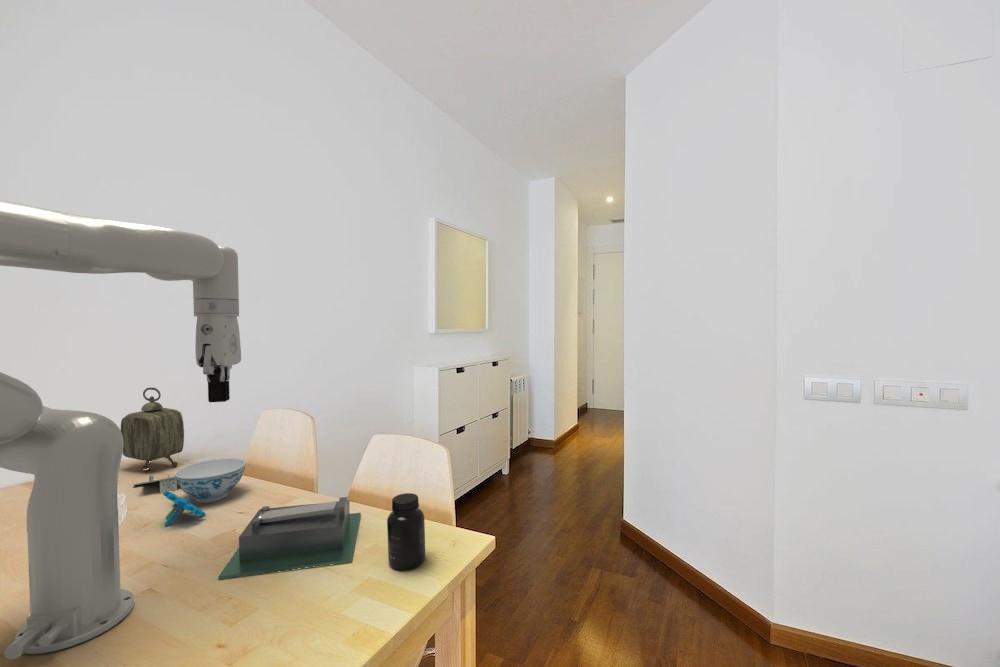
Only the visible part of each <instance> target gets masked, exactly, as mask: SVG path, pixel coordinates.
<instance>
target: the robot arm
mask: <svg viewBox="0 0 1000 667" xmlns="http://www.w3.org/2000/svg"><path fill="white" fill-rule="evenodd" d="M0 266H3V267H15V268H25V269H32V270H33V269H36V270H44V271H54V272H62V273H71V274H73V273H74V274H93V275H94V274H95V275H96V274H97V275H98V274H101V275H102V274H104V275H107V274H121V273H124V274H126V273H127V274H128V273H138V274H140V273H145V274H146V275H148V276H149V277H151V278H154V279H156V280H159V281H167V282H171V281H172V282H173V281H174V282H176V281H191V282H192V294H193V296H192V297H193V298H192V299H193V317H196V326H195V344H194V345H195V363H196V365H197V366H198V367H199V368H203V369H202V374H203V375H206V381H207V399H208V402H209V403H225V402H227V401H230V398H231V397H230V376H231V375H230V373H231V369H232V368H233V366H234V365H237V364H238V365H239V363H241V361H242V350H241V349H242V347H241V337H240V336H241V335H240V334H241V333H240V328H239V321H238V320H239V319H238V317H240V301H239V300H240V293H239V290H240V289H239V257H238V253H237V251H236V250H235V249H233V248H232V247H228V246H223V245H218V244H217V243H215V242H214V241H213V240H212V239H210V238H208V237H206V236H203V235H199V234H196V233H192V232H186V231H182V230H177V229H172V228H168V227H161V226H155V225H148V224H141V223H132V222H126V221H125V222H124V221H119V220H118V221H117V220H113V219H106V218H99V217H91V216H83V215H77V214H73V213H68V212H61V211H57V210H51V209H46V208H43V207H42V208H41V207H36V206H32V205H27V204H23V203H17V202H13V201H8V200H3V199H0ZM123 445H124V443H123V435H122V433H121V428H120V427H119V426H118V425H117V423H116V422H114V420H112V419H110V418H109V417H107V416H105V415H102V414H99V413H95V412H92V411H85V410H84V411H82V410H71V409H55V408H50V407H47V406H44V405H43V401H42V399H41V396H40V395H39V393H38V392H37V391H35V389H34V388H32V387H31V386H30V385H29V384H27V383H25V382H23V381H22V380H20V379H19V378H18V379H17V378H16V377H13V376H11V375H8V374H6V373H3V372H1V371H0V468H1V469H5V470H8V471H13V472H18V473H24V474H30V475H33V476H34V481H33V482H34V483H33V485H32V489H31V492H30V494H29V499H28V503H27V507H26V533H27V554H28V557H27V558H28V559H27V560H28V562H27V563H28V581H29V582H28V583H29V584H28V587H29V614H30V615H29V616H28V617H26V623H24V624H23V625H22V626H20V627H21V628H19V630H17V632H16V634H15V636H14V641H13V642H12V643H10V644H9V645H8V646H7V647H6V648H5V649H4V650H3V655H4V657H5V658H6V659H8V660H15V659H18V658H20V657H21V656H22V655H23V654H27V655H37V654H47V653H52V652H53V653H54V652H57V651H60V650H64V649H67V648H71V647H73V646H74V647H75V646H76V645H79V644H81V643H83V642H86V641H89V640H91V639H93V638H95V637H97V636H99V635H101V634H103V633H105V632H106V631H108V630H110V629H111V628H113V627H114V626H116V625H117V624H118V623H120V622H121V621H122V620H123V619H125V618H126V616H128V614H129V613H131V610H132V609H133V607H134V604H135V596H134V594H133V593H132V592H131V591H129V590H125V589H121V568H120V567H121V566H120V565H121V564H120V563H121V562H120V561H121V560H120V535H119V534H120V532H119V531H120V529H119V509H118V508H119V507H118V501H119V500H118V485H119V484H118V483H119V482H118V481H119V472H120V467H121V461H122V458H123V457H122V456H123Z"/></svg>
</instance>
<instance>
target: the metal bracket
mask: <svg viewBox="0 0 1000 667" xmlns="http://www.w3.org/2000/svg"><path fill="white" fill-rule="evenodd" d="M155 482H159V494H160V493H163V492H165V491H173V492H175V491H174V490H177V491H178V483H177V481H176V478H175V476H171V477H170V475H169V474H167V477H166V478H160V479H155V480H154V474H152V473H151V474H148V481H142V482H138V483H133V486H138V485H143V484H144V485H145V484H149V483H155ZM163 494H164V493H163Z"/></svg>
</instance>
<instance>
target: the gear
mask: <svg viewBox="0 0 1000 667" xmlns="http://www.w3.org/2000/svg"><path fill="white" fill-rule="evenodd" d="M162 495H163V496H164V497H165V498H166V499H168V500H170V501H172V502H173V505H172V508H171V510H170V511H169V512H168V513H167V514H166V515H165V518H166V520H165V522H164V523H163V524H164V525H165V526H167V527H168V526H169V525H171V524H172V522H173V521H174V520H175V519H176V518H177V516H179V514H182V513H183V512H184V511H185V510H186V511H188V512H189V511H190V512H192V513H193V514H194V515H196V516H199V517H201V518H203V517H204V516H205V515H206V513H205V512H204V511H203V510H202V509H201V508H199V507H198V506H196V505H195V504H193V503H191V500H190V499H189V498H185V499H184V498H183V497H181V496H179V495H177V494H175V493H173V492H169V491H165V492H164V493H163V494H162ZM169 527H170V526H169Z"/></svg>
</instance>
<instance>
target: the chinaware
mask: <svg viewBox="0 0 1000 667" xmlns="http://www.w3.org/2000/svg"><path fill="white" fill-rule="evenodd" d="M246 463H247V462H246V460H244V459H241V458H236V457H235V458H234V457H232V458H231V457H229V458H228V457H226V458H224V457H223V458H215V459H214V458H213V459H210V460H204V461H199V462H195V463H192V464H191V463H190V464H188V465H185V466H183V467H180V468H179V469H178V470H176V471H175V472H174V477H175V478H176V481H177V486H178V487H179V488H180V489H181V491H183V493H185V494H186V495H187V496H190V497H192V498H195V501H196V502H197V501H198V502H197V503H201V502H206V503H212V501H213V502H217V501H220V500H222V498H223V499H225V498H226V497H228V494H229V492H230V491H232V490H233V489H234V488H235V487H236V486H237V485H238V483H239V482H240V480H241V479H242V477H243V475H244V472H245V469H246ZM224 497H225V498H224ZM216 500H217V501H216Z"/></svg>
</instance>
